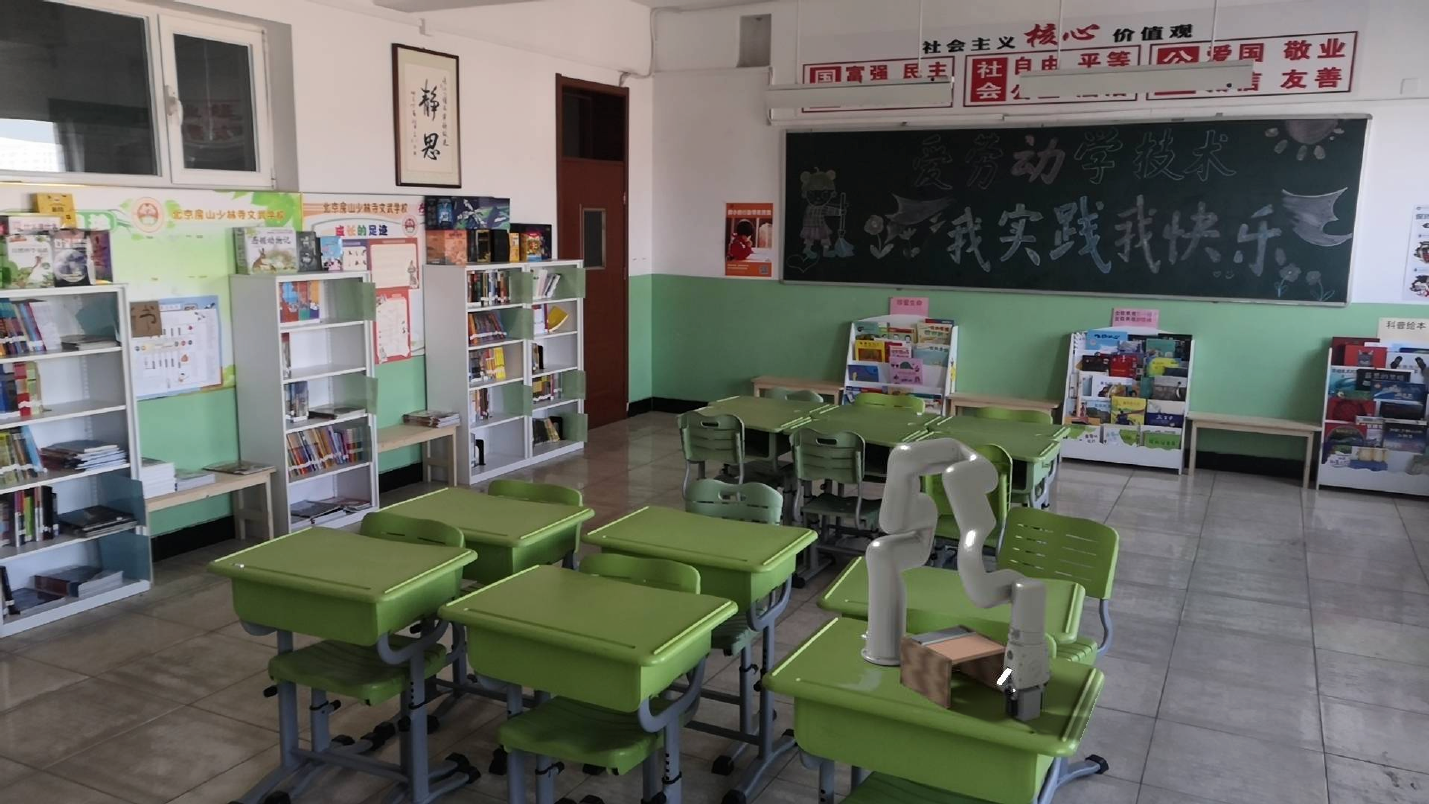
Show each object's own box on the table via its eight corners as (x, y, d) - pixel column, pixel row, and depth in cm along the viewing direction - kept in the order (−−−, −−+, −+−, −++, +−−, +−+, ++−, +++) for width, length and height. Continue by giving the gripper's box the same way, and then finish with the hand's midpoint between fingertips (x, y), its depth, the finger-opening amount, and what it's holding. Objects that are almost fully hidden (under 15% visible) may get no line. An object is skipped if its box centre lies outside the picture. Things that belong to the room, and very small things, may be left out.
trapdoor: (906, 650, 253) (907, 635, 252) (958, 639, 260) (958, 624, 260) (952, 674, 238) (953, 658, 238) (1005, 661, 246) (1006, 645, 245)
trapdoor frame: (899, 683, 254) (901, 637, 252) (960, 668, 262) (961, 624, 261) (946, 709, 239) (948, 660, 237) (1008, 693, 248) (1010, 646, 246)
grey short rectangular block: (1006, 713, 237) (1008, 685, 236) (1023, 708, 240) (1024, 681, 239) (1023, 721, 233) (1024, 693, 232) (1039, 716, 235) (1041, 689, 235)
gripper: (1010, 646, 226) (1006, 725, 229) (1068, 633, 235) (1064, 709, 237) (985, 635, 233) (982, 712, 235) (1042, 622, 241) (1039, 697, 244)
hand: (1023, 710), depth 236 cm, fingers open, 6 cm apart
